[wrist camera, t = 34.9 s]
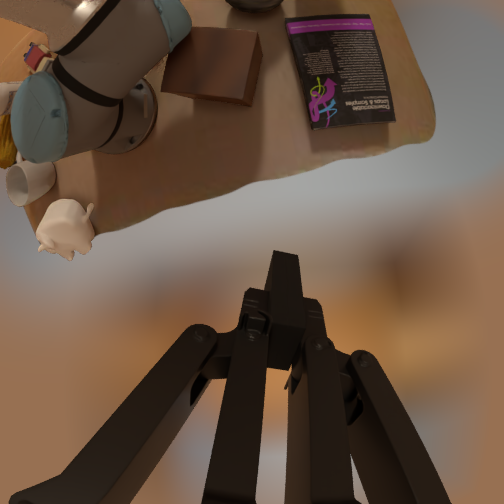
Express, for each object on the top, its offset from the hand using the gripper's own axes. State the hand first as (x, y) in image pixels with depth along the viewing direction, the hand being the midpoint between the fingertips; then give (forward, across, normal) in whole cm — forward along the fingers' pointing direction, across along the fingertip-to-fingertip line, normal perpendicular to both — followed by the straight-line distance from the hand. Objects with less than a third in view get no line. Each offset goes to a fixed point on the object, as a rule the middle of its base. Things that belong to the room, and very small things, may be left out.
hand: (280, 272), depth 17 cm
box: (+31, +6, +21) cm, 38 cm away
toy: (+29, -62, +26) cm, 73 cm away
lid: (+19, -12, +16) cm, 28 cm away
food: (+27, -67, +12) cm, 73 cm away
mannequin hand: (+29, -37, -20) cm, 51 cm away
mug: (+30, -50, -3) cm, 59 cm away
